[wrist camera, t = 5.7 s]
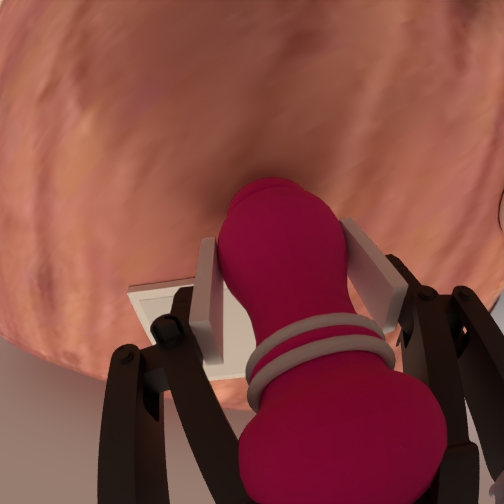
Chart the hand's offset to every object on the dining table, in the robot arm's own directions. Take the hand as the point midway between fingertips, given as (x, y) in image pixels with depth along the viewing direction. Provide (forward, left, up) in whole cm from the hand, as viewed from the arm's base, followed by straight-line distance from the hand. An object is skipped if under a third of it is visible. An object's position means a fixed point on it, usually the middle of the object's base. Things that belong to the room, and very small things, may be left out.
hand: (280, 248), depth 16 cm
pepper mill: (0, 0, -4) cm, 4 cm away
